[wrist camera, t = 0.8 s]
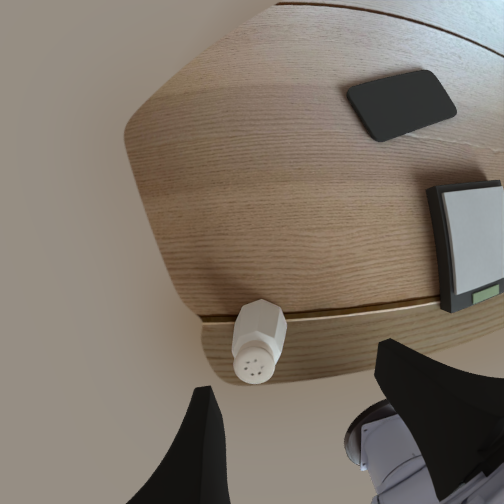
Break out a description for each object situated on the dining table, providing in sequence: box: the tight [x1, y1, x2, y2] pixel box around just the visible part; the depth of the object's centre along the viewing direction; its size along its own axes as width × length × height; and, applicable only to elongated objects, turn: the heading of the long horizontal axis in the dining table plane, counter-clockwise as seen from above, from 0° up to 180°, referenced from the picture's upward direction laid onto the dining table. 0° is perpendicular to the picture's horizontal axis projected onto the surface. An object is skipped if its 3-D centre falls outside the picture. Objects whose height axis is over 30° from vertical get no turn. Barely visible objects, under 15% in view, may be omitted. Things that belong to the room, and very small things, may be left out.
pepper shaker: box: [232, 299, 287, 384], centre depth 23 cm, size 5×5×11 cm
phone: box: [347, 70, 457, 142], centre depth 26 cm, size 7×1×15 cm
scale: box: [426, 180, 504, 313], centre depth 25 cm, size 14×12×3 cm
